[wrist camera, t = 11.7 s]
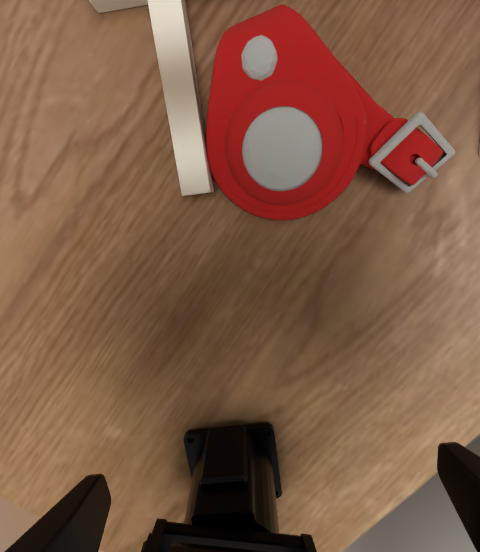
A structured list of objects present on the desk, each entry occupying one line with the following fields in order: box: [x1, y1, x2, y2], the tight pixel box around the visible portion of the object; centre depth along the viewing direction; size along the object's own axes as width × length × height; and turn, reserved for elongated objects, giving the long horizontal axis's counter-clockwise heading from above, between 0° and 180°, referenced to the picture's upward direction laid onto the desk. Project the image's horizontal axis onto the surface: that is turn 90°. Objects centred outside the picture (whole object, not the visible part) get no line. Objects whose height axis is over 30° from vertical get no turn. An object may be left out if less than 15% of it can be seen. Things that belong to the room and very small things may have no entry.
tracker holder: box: [206, 5, 455, 220], centre depth 16 cm, size 12×4×10 cm
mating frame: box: [88, 0, 480, 196], centre depth 14 cm, size 12×25×3 cm, turn 98°
